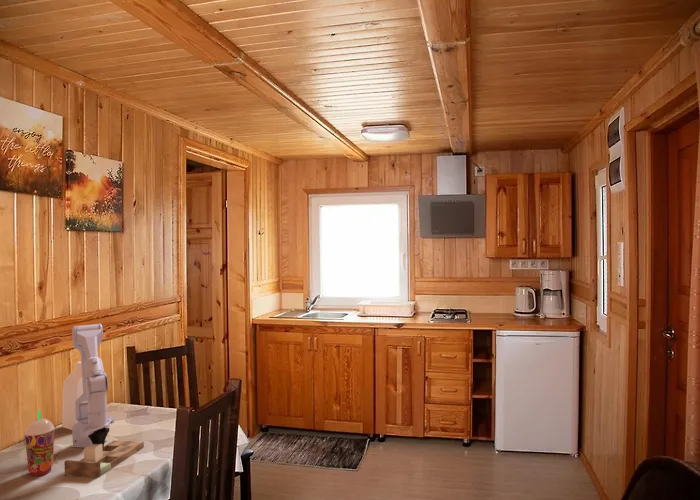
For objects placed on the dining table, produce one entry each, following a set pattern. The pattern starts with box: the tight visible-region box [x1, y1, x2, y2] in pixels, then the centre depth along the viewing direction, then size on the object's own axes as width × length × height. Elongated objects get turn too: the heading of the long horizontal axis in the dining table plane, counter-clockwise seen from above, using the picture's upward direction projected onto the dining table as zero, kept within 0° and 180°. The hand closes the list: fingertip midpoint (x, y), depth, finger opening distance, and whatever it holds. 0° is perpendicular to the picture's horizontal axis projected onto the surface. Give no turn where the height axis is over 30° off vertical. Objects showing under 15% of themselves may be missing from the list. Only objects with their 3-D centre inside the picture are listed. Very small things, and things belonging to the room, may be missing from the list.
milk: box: [61, 360, 88, 431], centre depth 209 cm, size 12×12×26 cm
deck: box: [63, 440, 145, 478], centre depth 171 cm, size 12×24×4 cm, turn 170°
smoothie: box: [23, 409, 56, 477], centre depth 164 cm, size 8×8×20 cm
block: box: [83, 444, 103, 461], centre depth 168 cm, size 4×4×4 cm
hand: (98, 451), depth 172 cm, fingers closed
